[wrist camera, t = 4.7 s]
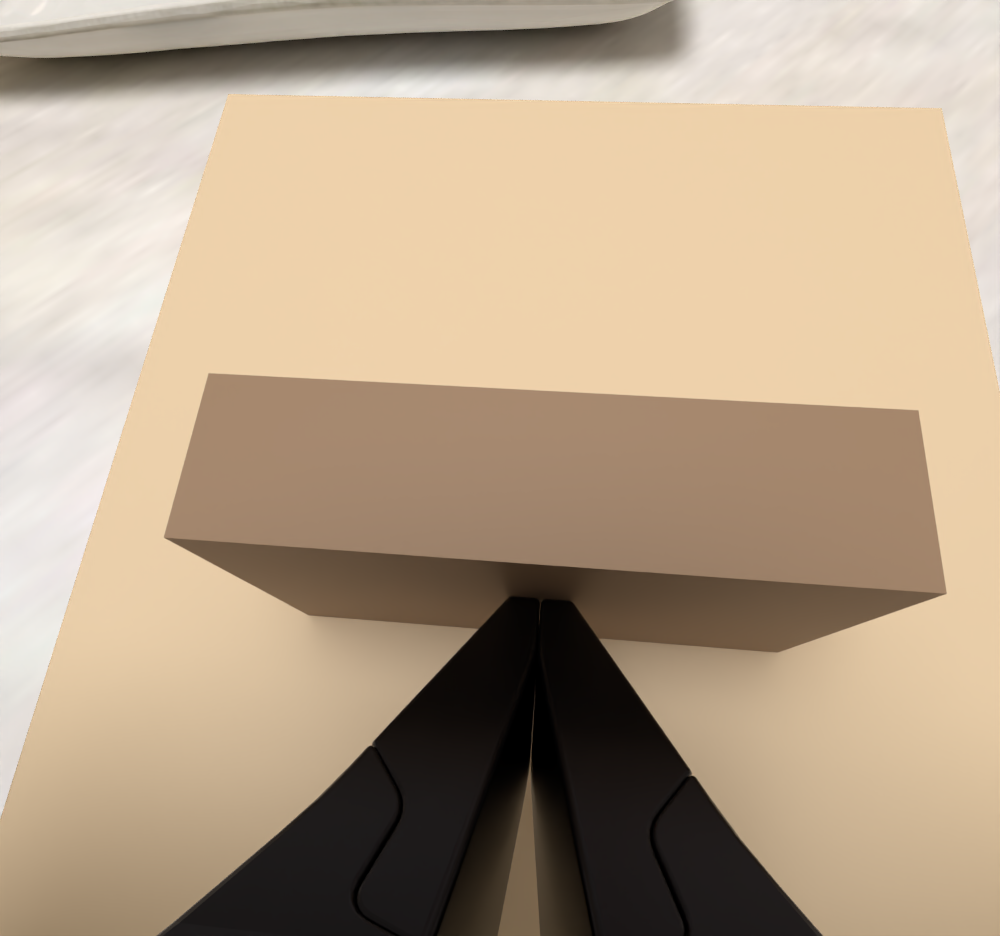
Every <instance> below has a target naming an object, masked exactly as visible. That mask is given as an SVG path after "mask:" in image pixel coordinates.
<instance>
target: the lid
mask: <svg viewBox="0 0 1000 936" xmlns="http://www.w3.org/2000/svg"><path fill="white" fill-rule="evenodd" d="M511 596H514V597H528V598H536V599H538V600H539V601H540V605H541V602H542V600H544V599H554V600H567V601H571V602H573V603H574V604H575V606H576V607H577V608H578V610H579V611H580V613H581V614H582V616H583V617H584V618H585V620H586V621H587V623H588V624H589V626H590V627H591V628H592V630H593V631H594V633H595V634H596V636H597V637H598V638H599V640H600V641H601V643H602V644H603V646H604V647H605V648H606V650H607V651H608V653H609V654H610V656H611V657H612V658H613V660H614V661H615V663H616V664H617V666H618V667H619V668H620V670H621V671H622V673H623V674H624V676H625V677H626V678H627V680H628V681H629V683H630V684H631V686H632V687H633V688H634V690H635V691H636V693H637V694H638V696H639V697H640V698H641V700H642V701H643V703H644V704H645V706H646V707H647V708H648V710H649V711H650V713H651V714H652V716H653V717H654V718H655V720H656V721H657V723H658V724H659V726H660V727H661V728H662V730H663V731H664V733H665V734H666V736H667V737H668V738H669V740H670V741H671V743H672V744H673V746H674V747H675V748H676V750H677V751H678V753H679V754H680V756H681V757H682V758H683V760H684V761H685V763H686V764H687V766H688V767H689V768H690V770H691V772H692V776H695V777H696V778H697V779H698V781H699V782H700V784H701V785H702V787H703V788H704V790H705V791H706V792H707V794H708V795H709V797H710V798H711V800H712V801H713V802H714V804H715V805H716V806H717V808H718V809H719V810H720V812H721V813H722V814H723V816H724V817H725V818H726V820H727V821H728V822H729V824H730V825H731V826H732V828H733V829H734V831H735V832H736V833H737V835H738V836H739V837H740V839H741V840H742V841H743V842H744V844H745V845H746V846H747V847H748V848H749V850H750V851H751V852H752V853H753V854H754V856H755V857H756V858H757V859H758V860H759V862H760V863H761V864H762V865H763V866H764V868H765V869H766V870H767V871H768V872H769V874H770V875H771V876H772V877H773V878H774V880H775V881H776V882H777V883H778V884H779V886H780V887H781V888H782V889H783V890H784V891H785V893H786V894H787V895H788V896H789V897H790V898H791V899H792V901H793V902H794V903H795V904H796V905H797V906H798V907H799V909H800V910H801V911H802V912H803V913H804V914H805V915H806V917H807V918H808V919H809V920H810V921H811V922H812V923H813V925H814V926H815V927H816V928H817V929H818V930H819V931H820V933H821V934H822V935H823V936H1000V391H999V386H998V381H997V376H996V371H995V366H994V362H993V357H992V352H991V347H990V342H989V337H988V332H987V327H986V323H985V318H984V313H983V308H982V303H981V298H980V293H979V288H978V284H977V279H976V274H975V269H974V264H973V259H972V254H971V249H970V245H969V240H968V235H967V230H966V225H965V220H964V215H963V210H962V206H961V201H960V196H959V191H958V186H957V181H956V176H955V171H954V167H953V162H952V157H951V152H950V147H949V142H948V137H947V132H946V128H945V123H944V118H943V113H942V108H892V107H842V106H792V105H742V104H692V103H642V102H592V101H542V100H492V99H442V98H392V97H342V96H292V95H242V94H228V97H227V100H226V104H225V107H224V110H223V113H222V116H221V119H220V123H219V126H218V129H217V132H216V135H215V139H214V142H213V145H212V148H211V151H210V154H209V158H208V161H207V164H206V167H205V170H204V173H203V177H202V180H201V183H200V186H199V189H198V193H197V196H196V199H195V202H194V205H193V208H192V212H191V215H190V218H189V221H188V224H187V228H186V231H185V234H184V237H183V240H182V243H181V247H180V250H179V253H178V256H177V259H176V263H175V266H174V269H173V272H172V275H171V278H170V282H169V285H168V288H167V291H166V294H165V297H164V301H163V304H162V307H161V310H160V313H159V317H158V320H157V323H156V326H155V329H154V332H153V336H152V339H151V342H150V345H149V348H148V352H147V355H146V358H145V361H144V364H143V367H142V371H141V374H140V377H139V380H138V383H137V386H136V390H135V393H134V396H133V399H132V402H131V406H130V409H129V412H128V415H127V418H126V421H125V425H124V428H123V431H122V434H121V437H120V441H119V444H118V447H117V450H116V453H115V456H114V460H113V463H112V466H111V469H110V472H109V476H108V479H107V482H106V485H105V488H104V491H103V495H102V498H101V501H100V504H99V507H98V510H97V514H96V517H95V520H94V523H93V526H92V530H91V533H90V536H89V539H88V542H87V545H86V549H85V552H84V555H83V558H82V561H81V565H80V568H79V571H78V574H77V577H76V580H75V584H74V587H73V590H72V593H71V596H70V599H69V603H68V606H67V609H66V612H65V615H64V619H63V622H62V625H61V628H60V631H59V634H58V638H57V641H56V644H55V647H54V650H53V654H52V657H51V660H50V663H49V666H48V669H47V673H46V676H45V679H44V682H43V685H42V689H41V692H40V695H39V698H38V701H37V704H36V708H35V711H34V714H33V717H32V720H31V723H30V727H29V730H28V733H27V736H26V739H25V743H24V746H23V749H22V752H21V755H20V758H19V762H18V765H17V768H16V771H15V774H14V778H13V781H12V784H11V787H10V790H9V793H8V797H7V800H6V803H5V806H4V809H3V812H2V816H1V819H0V936H156V935H158V934H159V933H160V932H161V931H163V930H164V929H165V928H167V927H168V926H169V925H170V924H172V923H173V922H174V921H175V920H176V919H178V918H179V917H180V916H181V915H182V914H184V913H185V912H186V911H187V910H188V909H189V908H191V907H192V906H193V905H194V904H195V903H196V902H198V901H199V900H200V899H201V898H202V897H204V896H205V895H206V894H207V893H208V892H209V891H211V890H212V889H213V888H214V887H215V886H217V885H218V884H219V883H220V882H221V881H222V880H224V879H225V878H226V877H227V876H228V875H229V874H231V873H232V872H233V871H234V870H235V869H237V868H238V867H239V866H240V865H241V864H242V863H244V862H245V861H246V860H247V859H248V858H250V857H251V856H252V855H253V854H254V853H255V852H257V851H258V850H259V849H260V848H261V847H262V846H264V845H265V844H266V843H267V842H268V841H270V840H271V839H272V838H273V837H274V836H275V835H277V834H278V833H279V832H280V831H281V830H282V829H283V828H285V827H286V826H287V825H288V824H289V823H290V822H291V821H292V820H293V819H295V818H296V817H297V816H298V815H299V814H300V813H301V812H302V811H304V810H305V809H306V808H307V807H308V806H309V805H310V804H311V803H312V802H314V801H315V800H316V799H317V798H318V797H319V796H320V795H321V794H322V793H323V792H324V791H325V790H326V789H327V788H328V787H329V786H330V785H331V784H332V783H333V782H334V781H335V780H336V779H337V778H338V777H339V776H340V775H341V774H342V773H343V772H344V771H345V770H346V769H347V768H348V767H349V766H350V765H351V764H352V763H353V762H354V761H355V760H356V759H357V758H358V756H359V755H360V754H361V753H362V752H363V751H364V750H365V749H366V748H367V747H368V746H372V742H373V741H374V740H375V739H376V738H377V737H378V736H379V735H380V733H381V732H382V731H383V730H384V729H385V728H386V727H387V726H388V725H389V724H390V723H391V722H392V721H393V720H394V719H395V717H396V716H397V715H398V714H399V713H400V712H401V711H402V710H403V709H404V708H405V707H406V706H407V705H408V704H409V703H410V702H411V700H412V699H413V698H414V697H415V696H416V695H417V694H418V693H419V692H420V691H421V690H422V689H423V688H424V687H425V686H426V684H427V683H428V682H429V681H430V680H431V679H432V678H433V677H434V676H435V675H436V674H437V673H438V672H439V671H440V670H441V668H442V667H443V666H444V665H445V664H446V663H447V662H448V661H449V660H450V659H451V658H452V657H453V656H454V655H455V654H456V653H457V651H458V650H459V649H460V648H461V647H462V646H463V645H464V644H465V643H466V642H467V641H468V640H469V639H470V638H471V637H472V635H473V634H474V633H475V632H476V631H477V630H478V629H479V628H480V627H481V626H482V625H483V624H484V623H485V622H486V621H487V619H488V618H489V617H490V616H491V615H492V614H493V613H494V612H495V611H496V610H497V609H498V608H499V607H500V606H501V605H502V604H503V602H504V601H505V600H506V599H507V598H509V597H511ZM539 619H540V616H539ZM534 698H535V696H534ZM533 715H534V712H533ZM532 732H533V727H532ZM531 749H532V742H531ZM498 936H540V924H539V908H538V892H537V876H536V860H535V844H534V827H533V811H532V795H531V756H530V767H529V775H528V781H527V787H526V793H525V798H524V803H523V808H522V813H521V818H520V823H519V828H518V834H517V839H516V844H515V849H514V854H513V859H512V864H511V869H510V875H509V880H508V885H507V890H506V895H505V900H504V905H503V910H502V916H501V921H500V926H499V931H498Z"/></svg>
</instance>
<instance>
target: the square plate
mask: <svg viewBox="0 0 1000 936" xmlns="http://www.w3.org/2000/svg"><path fill="white" fill-rule="evenodd" d="M671 1H674V0H0V56H11V57H28V58H58V57H79V56H100V55H115V54H128V53H141V52H151V51H162V50H172V49H182V48H197V47H212V46H224V45H235V44H247V43H259V42H270V41H282V40H295V39H309V38H322V37H335V36H350V35H371V34H393V33H419V32H450V31H481V30H514V29H534V28H554V27H567V26H579V25H592V24H602V23H610V22H618V21H623V20H627V19H631V18H635V17H638V16H640V15H643V14H646V13H648V12H651V11H653V10H655V9H657V8H659V7H661V6H663V5H664V4H666V3H668V2H671Z"/></svg>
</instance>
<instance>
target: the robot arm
mask: <svg viewBox="0 0 1000 936" xmlns="http://www.w3.org/2000/svg"><path fill="white" fill-rule="evenodd" d="M539 616H540V619H539ZM534 696H535V698H534ZM533 712H534V715H533ZM532 727H533V732H532ZM531 742H532V749H531ZM530 756H531V795H532V811H533V827H534V844H535V860H536V876H537V892H538V908H539V924H540V936H823V935H822V934H821V933H820V931H819V930H818V929H817V928H816V927H815V926H814V925H813V923H812V922H811V921H810V920H809V919H808V918H807V917H806V915H805V914H804V913H803V912H802V911H801V910H800V909H799V907H798V906H797V905H796V904H795V903H794V902H793V901H792V899H791V898H790V897H789V896H788V895H787V894H786V893H785V891H784V890H783V889H782V888H781V887H780V886H779V884H778V883H777V882H776V881H775V880H774V878H773V877H772V876H771V875H770V874H769V872H768V871H767V870H766V869H765V868H764V866H763V865H762V864H761V863H760V862H759V860H758V859H757V858H756V857H755V856H754V854H753V853H752V852H751V851H750V850H749V848H748V847H747V846H746V845H745V844H744V842H743V841H742V840H741V839H740V837H739V836H738V835H737V833H736V832H735V831H734V829H733V828H732V826H731V825H730V824H729V822H728V821H727V820H726V818H725V817H724V816H723V814H722V813H721V812H720V810H719V809H718V808H717V806H716V805H715V804H714V802H713V801H712V800H711V798H710V797H709V795H708V794H707V792H706V791H705V790H704V788H703V787H702V785H701V784H700V782H699V781H698V779H697V778H696V777H695V776H692V772H691V770H690V768H689V767H688V766H687V764H686V763H685V761H684V760H683V758H682V757H681V756H680V754H679V753H678V751H677V750H676V748H675V747H674V746H673V744H672V743H671V741H670V740H669V738H668V737H667V736H666V734H665V733H664V731H663V730H662V728H661V727H660V726H659V724H658V723H657V721H656V720H655V718H654V717H653V716H652V714H651V713H650V711H649V710H648V708H647V707H646V706H645V704H644V703H643V701H642V700H641V698H640V697H639V696H638V694H637V693H636V691H635V690H634V688H633V687H632V686H631V684H630V683H629V681H628V680H627V678H626V677H625V676H624V674H623V673H622V671H621V670H620V668H619V667H618V666H617V664H616V663H615V661H614V660H613V658H612V657H611V656H610V654H609V653H608V651H607V650H606V648H605V647H604V646H603V644H602V643H601V641H600V640H599V638H598V637H597V636H596V634H595V633H594V631H593V630H592V628H591V627H590V626H589V624H588V623H587V621H586V620H585V618H584V617H583V616H582V614H581V613H580V611H579V610H578V608H577V607H576V606H575V604H574V603H573V602H571V601H567V600H554V599H544V600H542V602H541V605H540V601H539V600H538V599H536V598H528V597H514V596H511V597H509V598H507V599H506V600H505V601H504V602H503V604H502V605H501V606H500V607H499V608H498V609H497V610H496V611H495V612H494V613H493V614H492V615H491V616H490V617H489V618H488V619H487V621H486V622H485V623H484V624H483V625H482V626H481V627H480V628H479V629H478V630H477V631H476V632H475V633H474V634H473V635H472V637H471V638H470V639H469V640H468V641H467V642H466V643H465V644H464V645H463V646H462V647H461V648H460V649H459V650H458V651H457V653H456V654H455V655H454V656H453V657H452V658H451V659H450V660H449V661H448V662H447V663H446V664H445V665H444V666H443V667H442V668H441V670H440V671H439V672H438V673H437V674H436V675H435V676H434V677H433V678H432V679H431V680H430V681H429V682H428V683H427V684H426V686H425V687H424V688H423V689H422V690H421V691H420V692H419V693H418V694H417V695H416V696H415V697H414V698H413V699H412V700H411V702H410V703H409V704H408V705H407V706H406V707H405V708H404V709H403V710H402V711H401V712H400V713H399V714H398V715H397V716H396V717H395V719H394V720H393V721H392V722H391V723H390V724H389V725H388V726H387V727H386V728H385V729H384V730H383V731H382V732H381V733H380V735H379V736H378V737H377V738H376V739H375V740H374V741H373V742H372V746H368V747H367V748H366V749H365V750H364V751H363V752H362V753H361V754H360V755H359V756H358V758H357V759H356V760H355V761H354V762H353V763H352V764H351V765H350V766H349V767H348V768H347V769H346V770H345V771H344V772H343V773H342V774H341V775H340V776H339V777H338V778H337V779H336V780H335V781H334V782H333V783H332V784H331V785H330V786H329V787H328V788H327V789H326V790H325V791H324V792H323V793H322V794H321V795H320V796H319V797H318V798H317V799H316V800H315V801H314V802H312V803H311V804H310V805H309V806H308V807H307V808H306V809H305V810H304V811H302V812H301V813H300V814H299V815H298V816H297V817H296V818H295V819H293V820H292V821H291V822H290V823H289V824H288V825H287V826H286V827H285V828H283V829H282V830H281V831H280V832H279V833H278V834H277V835H275V836H274V837H273V838H272V839H271V840H270V841H268V842H267V843H266V844H265V845H264V846H262V847H261V848H260V849H259V850H258V851H257V852H255V853H254V854H253V855H252V856H251V857H250V858H248V859H247V860H246V861H245V862H244V863H242V864H241V865H240V866H239V867H238V868H237V869H235V870H234V871H233V872H232V873H231V874H229V875H228V876H227V877H226V878H225V879H224V880H222V881H221V882H220V883H219V884H218V885H217V886H215V887H214V888H213V889H212V890H211V891H209V892H208V893H207V894H206V895H205V896H204V897H202V898H201V899H200V900H199V901H198V902H196V903H195V904H194V905H193V906H192V907H191V908H189V909H188V910H187V911H186V912H185V913H184V914H182V915H181V916H180V917H179V918H178V919H176V920H175V921H174V922H173V923H172V924H170V925H169V926H168V927H167V928H165V929H164V930H163V931H161V932H160V933H159V934H158V935H156V936H498V931H499V926H500V921H501V916H502V910H503V905H504V900H505V895H506V890H507V885H508V880H509V875H510V869H511V864H512V859H513V854H514V849H515V844H516V839H517V834H518V828H519V823H520V818H521V813H522V808H523V803H524V798H525V793H526V787H527V781H528V775H529V767H530Z"/></svg>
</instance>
